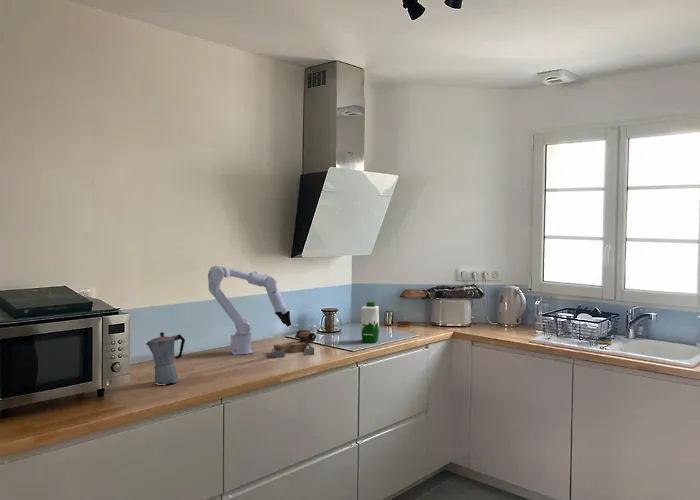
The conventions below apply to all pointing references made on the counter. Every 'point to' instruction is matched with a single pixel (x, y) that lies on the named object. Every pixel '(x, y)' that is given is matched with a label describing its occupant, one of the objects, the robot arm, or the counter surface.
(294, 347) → the slat
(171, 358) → the moka pot
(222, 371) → the counter surface
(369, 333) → the milk carton
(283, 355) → the cap
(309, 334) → the pottery mug
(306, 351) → the cap
